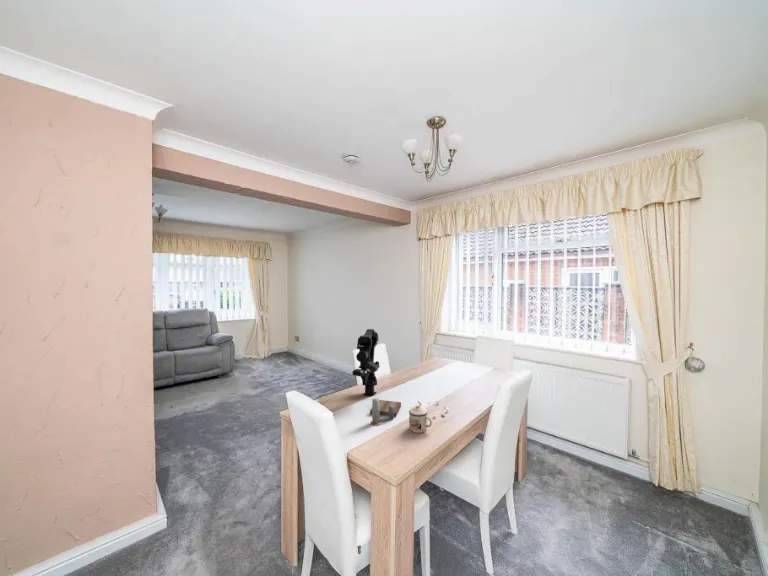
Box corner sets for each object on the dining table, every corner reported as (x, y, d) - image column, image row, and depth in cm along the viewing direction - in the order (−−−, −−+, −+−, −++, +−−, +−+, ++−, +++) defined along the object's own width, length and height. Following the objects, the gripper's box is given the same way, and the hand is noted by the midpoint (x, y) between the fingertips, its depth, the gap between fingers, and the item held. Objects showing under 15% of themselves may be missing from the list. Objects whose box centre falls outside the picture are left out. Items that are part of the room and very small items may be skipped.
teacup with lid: (405, 430, 144) (405, 406, 143) (414, 422, 151) (414, 400, 151) (427, 437, 137) (427, 412, 136) (436, 429, 144) (436, 405, 144)
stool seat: (400, 406, 170) (400, 402, 170) (390, 427, 146) (390, 422, 146) (377, 403, 174) (377, 399, 174) (364, 424, 150) (364, 419, 150)
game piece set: (407, 406, 171) (407, 400, 171) (437, 401, 178) (437, 395, 178) (424, 421, 153) (424, 414, 153) (456, 415, 160) (456, 408, 160)
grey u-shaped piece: (391, 415, 158) (391, 394, 157) (395, 418, 154) (395, 396, 154) (371, 421, 152) (371, 399, 152) (374, 424, 149) (374, 401, 148)
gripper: (368, 363, 162) (368, 391, 162) (384, 355, 179) (384, 380, 179) (351, 360, 167) (351, 387, 167) (368, 353, 184) (368, 378, 184)
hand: (365, 383), depth 174 cm, fingers closed
